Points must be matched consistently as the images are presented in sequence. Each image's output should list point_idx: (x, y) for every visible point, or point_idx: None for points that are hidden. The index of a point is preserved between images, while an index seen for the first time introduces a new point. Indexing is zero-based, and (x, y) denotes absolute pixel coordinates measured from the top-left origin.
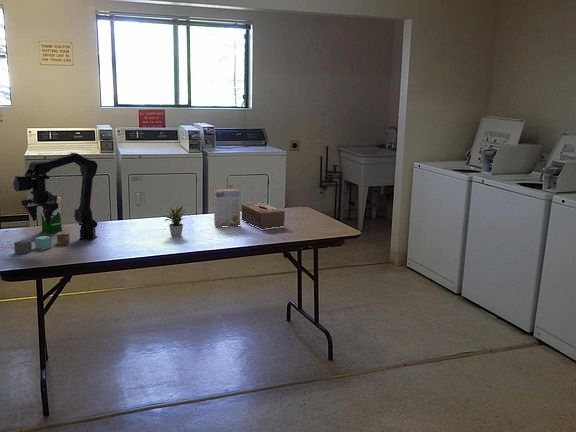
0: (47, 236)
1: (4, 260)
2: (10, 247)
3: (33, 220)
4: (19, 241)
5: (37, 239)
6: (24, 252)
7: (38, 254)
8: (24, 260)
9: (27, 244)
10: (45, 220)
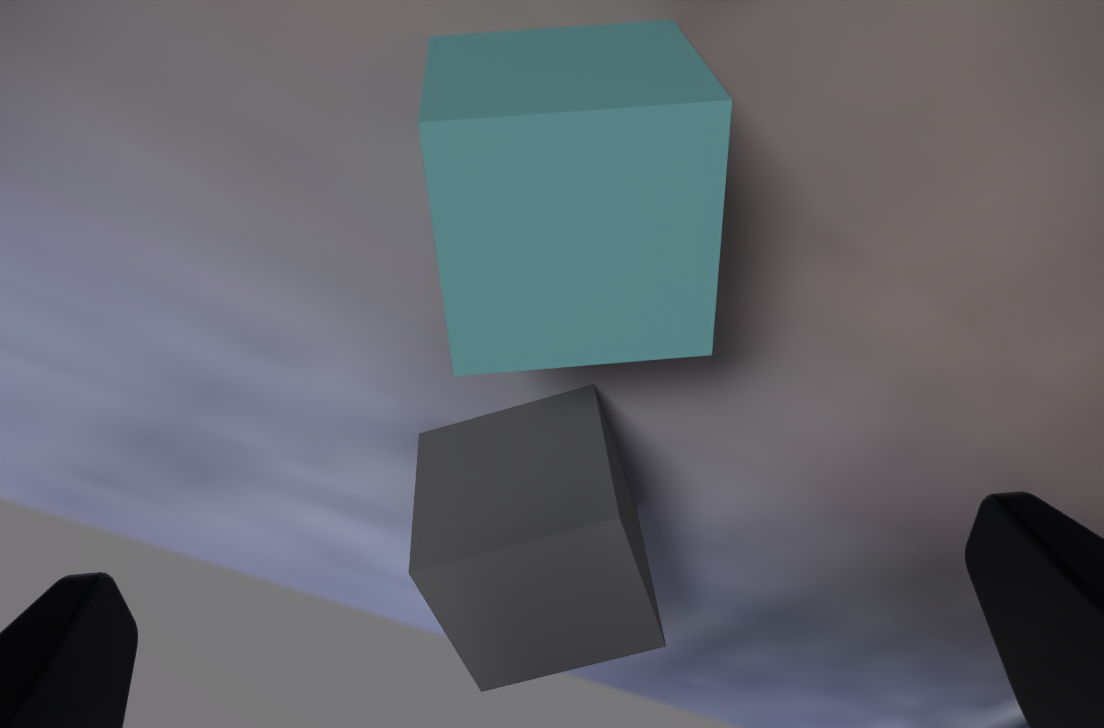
0: (575, 113)
1: (661, 702)
2: (120, 469)
3: (109, 650)
4: (480, 630)
5: (549, 355)
6: (638, 523)
7: (822, 409)
8: (860, 605)
9: (639, 557)
10: (1028, 718)
